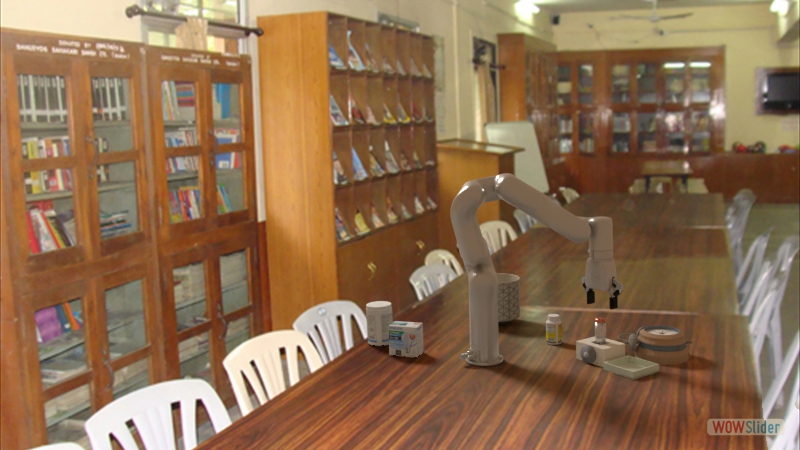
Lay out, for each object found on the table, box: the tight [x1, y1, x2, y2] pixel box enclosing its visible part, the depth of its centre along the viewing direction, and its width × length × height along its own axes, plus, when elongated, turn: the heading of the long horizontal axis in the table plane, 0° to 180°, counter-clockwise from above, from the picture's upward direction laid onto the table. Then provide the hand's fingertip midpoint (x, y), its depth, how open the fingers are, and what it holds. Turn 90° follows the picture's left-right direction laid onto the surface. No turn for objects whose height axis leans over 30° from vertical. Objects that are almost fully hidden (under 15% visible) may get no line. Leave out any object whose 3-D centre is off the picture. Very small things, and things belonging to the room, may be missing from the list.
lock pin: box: [594, 317, 607, 345], centre depth 257 cm, size 4×4×11 cm
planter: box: [496, 272, 521, 327], centre depth 306 cm, size 19×19×18 cm
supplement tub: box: [365, 300, 394, 347], centre depth 284 cm, size 10×10×15 cm
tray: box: [602, 354, 660, 381], centre depth 246 cm, size 12×12×2 cm
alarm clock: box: [617, 325, 693, 366], centre depth 260 cm, size 17×9×23 cm
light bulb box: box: [388, 320, 424, 358], centre depth 271 cm, size 11×7×11 cm, turn 70°
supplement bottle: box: [545, 313, 563, 346], centre depth 278 cm, size 6×6×10 cm
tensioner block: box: [575, 335, 626, 368], centre depth 257 cm, size 12×12×6 cm
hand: (602, 306), depth 255 cm, fingers open, 9 cm apart
